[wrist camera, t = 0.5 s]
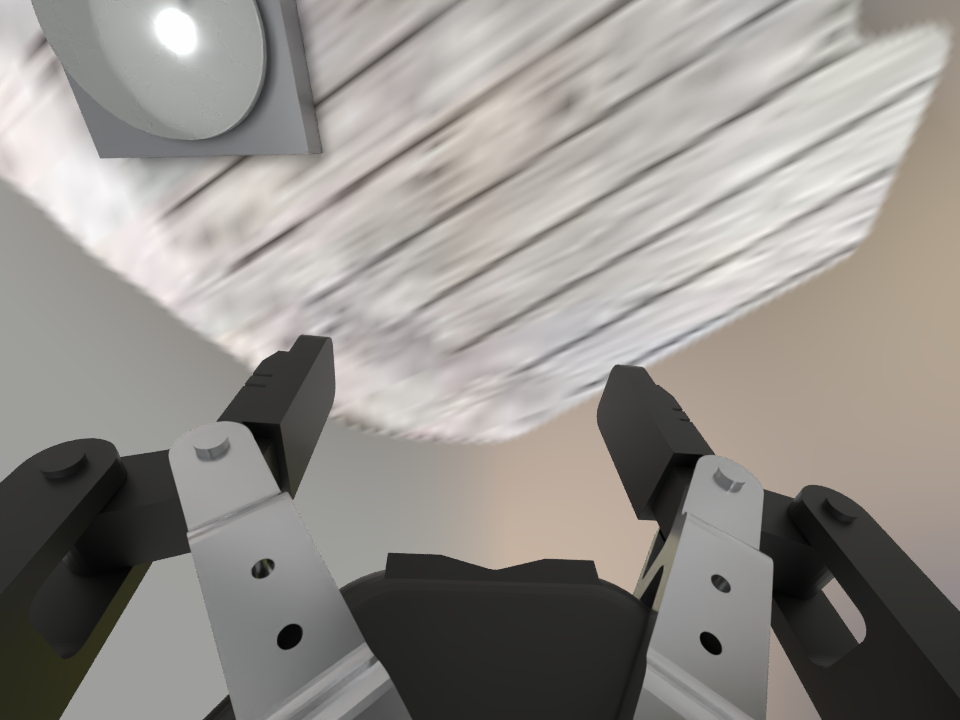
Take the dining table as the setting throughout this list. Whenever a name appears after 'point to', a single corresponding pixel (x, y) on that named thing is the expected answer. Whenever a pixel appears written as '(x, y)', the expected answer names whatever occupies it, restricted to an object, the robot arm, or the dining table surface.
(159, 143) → the base
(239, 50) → the scale pan
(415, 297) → the dining table surface
